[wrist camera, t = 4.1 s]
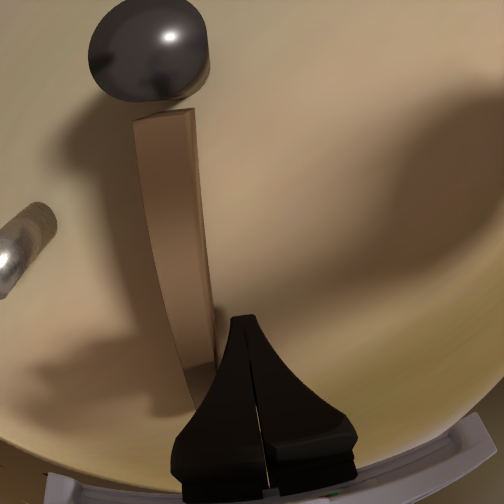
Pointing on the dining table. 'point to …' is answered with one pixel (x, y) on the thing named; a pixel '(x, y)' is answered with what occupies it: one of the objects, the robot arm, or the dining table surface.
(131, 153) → the dining table surface
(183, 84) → the hinge post
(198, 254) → the brown long bar
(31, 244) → the post
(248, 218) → the dining table surface
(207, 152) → the dining table surface
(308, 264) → the dining table surface
